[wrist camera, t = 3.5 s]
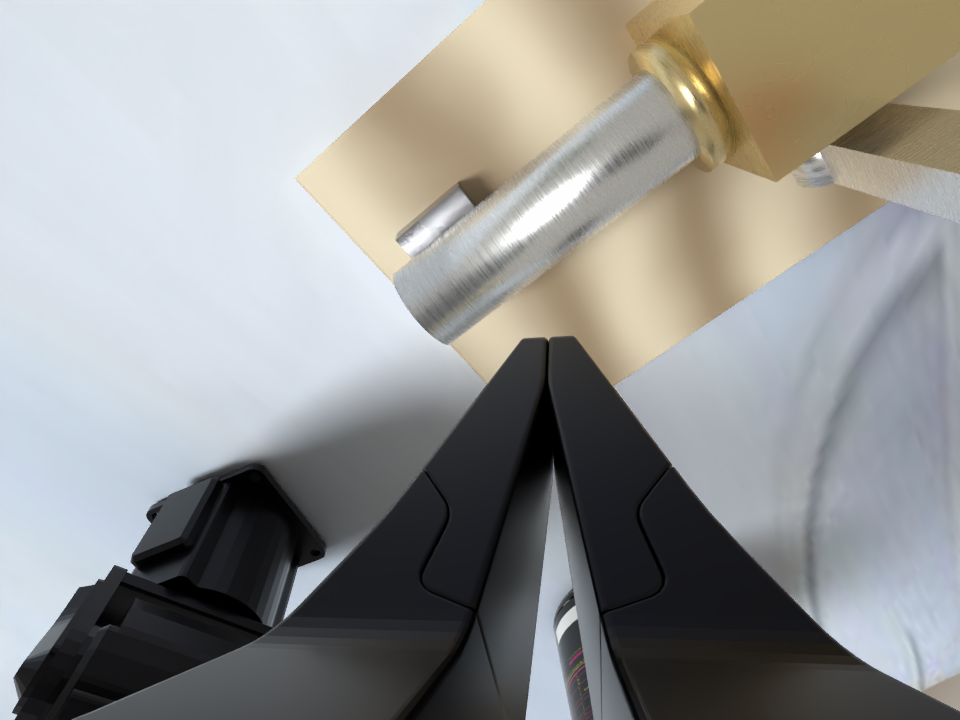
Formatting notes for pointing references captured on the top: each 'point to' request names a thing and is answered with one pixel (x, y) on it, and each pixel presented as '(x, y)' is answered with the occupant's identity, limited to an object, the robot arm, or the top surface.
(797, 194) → the mounting board
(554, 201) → the valve pipe
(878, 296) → the top surface
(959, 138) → the valve lever
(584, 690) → the supplement container
